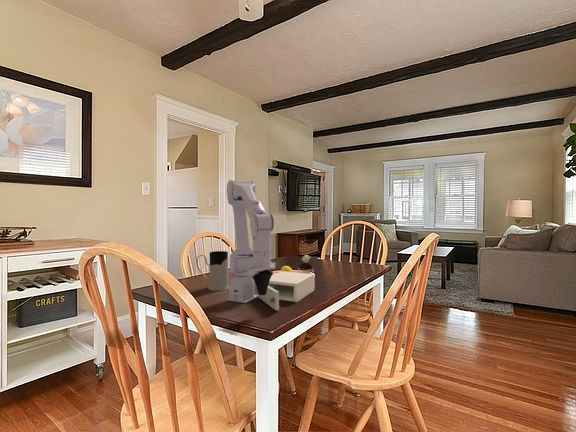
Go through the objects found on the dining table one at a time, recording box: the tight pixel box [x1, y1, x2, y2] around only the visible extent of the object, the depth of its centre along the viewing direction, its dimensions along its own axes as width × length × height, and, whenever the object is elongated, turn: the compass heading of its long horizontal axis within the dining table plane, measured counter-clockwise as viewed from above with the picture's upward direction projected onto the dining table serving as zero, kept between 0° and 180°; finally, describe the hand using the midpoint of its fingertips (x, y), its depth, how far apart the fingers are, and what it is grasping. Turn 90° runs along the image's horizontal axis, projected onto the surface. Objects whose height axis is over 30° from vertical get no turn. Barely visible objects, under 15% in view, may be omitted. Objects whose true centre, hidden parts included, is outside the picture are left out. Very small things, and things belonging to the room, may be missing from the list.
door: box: [257, 285, 280, 311], centre depth 111 cm, size 2×17×6 cm, turn 25°
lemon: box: [280, 265, 293, 272], centre depth 155 cm, size 7×5×5 cm
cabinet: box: [268, 270, 316, 303], centre depth 125 cm, size 18×15×6 cm
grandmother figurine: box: [297, 254, 315, 274], centre depth 141 cm, size 8×4×13 cm, turn 74°
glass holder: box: [196, 250, 229, 291], centre depth 134 cm, size 9×14×15 cm, turn 81°
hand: (262, 294), depth 101 cm, fingers closed
